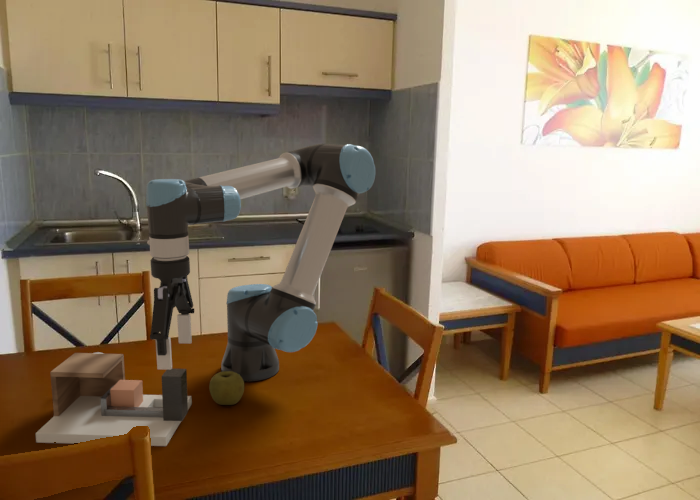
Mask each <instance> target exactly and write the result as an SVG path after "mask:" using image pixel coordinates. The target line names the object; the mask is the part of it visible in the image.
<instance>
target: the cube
mask: <svg viewBox="0 0 700 500" xmlns="http://www.w3.org/2000/svg"><path fill="white" fill-rule="evenodd" d="M143 391H144V389H143V380H139V379H134V380H133V379H130V380H129V379H125V380H119V381H118V382H117V383H116V384H115V385H114V386H113V387H112V388H111V390H110V393H111V406H120V407H139V406H140V404H141V403H142V402H143V395H144V392H143Z"/></svg>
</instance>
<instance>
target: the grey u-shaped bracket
mask: <svg viewBox="0 0 700 500" xmlns="http://www.w3.org/2000/svg"><path fill="white" fill-rule="evenodd" d="M187 371H188V370H187V368H172V369H171V370H167V369H165V371H164V372H163V374H162V375H161V395H162V399H163V407H120V406H111V393H110V390H111V388H112V387H113V386H112V387H111V388H110V389H109V390H108V391H107V392H106V393H105V394H104V395H103V396H102V397H101V398H100V400H101V415H102V416H123V417H159V418H163V421H181V422H183V421H184V419H185V417H186V416H187V414H188V413H189V409H188V400H187V396H188V377H187V376H188V372H187Z"/></svg>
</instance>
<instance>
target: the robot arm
mask: <svg viewBox="0 0 700 500" xmlns="http://www.w3.org/2000/svg"><path fill="white" fill-rule="evenodd" d="M375 178H376V165H375V162H374V158H373V156H372V154H371V152H370V151H369V150H368V149H367V148H365V147H363V146H362V145H361V146H360V145H355V144H351V143H347V144H333V143H331V144H330V143H317V144H312V145H307V146H305V147H301V148H297V149H293V150H291V151H287V152H282V153H281V154H280V155H279V157H278V158H274V159H269V160H265V161H261V162H258V163H252V164H248V165H245V166H241V167H237V168H233V169H232V168H231V169H228V170H223V171H221V172H215V173H212V174H208V175H203V176H199V177H197V178H196V177H195V178H191V179H186V180H183V179H181V178H179V179H178V178H160V179H159V178H158V179H151V180H150V181H148V183H146V193H145V198H146V199H145V201H146V202H145V206H146V211H147V224H148V225H147V226H148V236H149V237H148V238H149V239H148V240H147V242H146V244H147V245H148V246H149V254H150V256H151V259H150V274H151V276H152V277H153V278H154V279H158V280H159V281H160V285H159V287H154V289H153V305H152V306H153V307H152V308H153V309H152V319H151V328H150V335H149V339H150V340H155V352H156V353H155V354H156V365H157V366H156V368H157V370H171V369H173V359H172V341H171V340H172V339H171V338H172V337H171V336H169V334H170V329H171V323H172V316H173V312H174V308H176V310H177V312H178V314H177V315H176V318H177V320H176V322H177V335H178V336H177V337H178V338H177V339H178V344H193V343H192V342H193V341H192V322H191V321H192V318H191V314H195V308H193V307H194V301H193V298H192V295H191V294H192V293H191V289H190V285H189V280H188V276H189V275H190V273H191V264H190V257H189V256H188V255H190V244H189V243H190V241H189V239H190V238H189V226H194V225H202V224H211V223H219V222H220V223H224V222H226V221H231V220H235V219H237V217H239V215H240V212H241V209H242V204H241V203H242V200H243V199H247V198H251V197H254V196H258V195H262V194H265V193H268V192H272V191H275V190H279V189H282V188H288V189H298V188H301V187H312V188H313V191H314V193H315V196H314V198H313V201H312V204H311V207H310V209H309V211H308V214H307V215H306V219H305V222H304V223H303V226H302V228H301V231H300V233H299V236H298V237H297V241H296V243H295V245H294V248H293V250H292V253H291V256H290V258H289V261H288V263H287V266H286V268H285V271H284V274H283V276H282V279H281V281H280V282H279V283H277V284H275V285H273V286H271V285H270V284H268V283H267V284H266V283H265V284H264V283H263V284H262V283H252V284H244V285H239V286H235V287H232V288H230V289H229V290H228V292H227V295H226V297H227V298H226V313H227V316H226V317H227V319H226V321H227V324H226V325H227V344H226V347H225V352H224V355H223V357H222V360H221V364H220V365H221V369H220V370H221V372H223V371H232V372H235V373H237V374H239V375H240V376H241V377H242V379H243V381H244V382H256V381H257V382H258V381H262V380H266V379H270V378H271V377H274V376H275V375H276V374H277V373H278V372H279V370H280V360H279V358H278V354H277V351H276V350H278V351H279V350H280V351H283V352H286V353H295V352H299V351H300V350H301V349H303V348H305V347H306V346H307V345H309V344H310V343H311V341H312V340H313V338H314V337H315V335H316V333H317V329H318V325H319V324H318V323H319V322H318V321H317V320H318V318H317V317H318V316H317V314H316V313H315V311H314V310H315V308H316V306H317V302H316V300H315V296H314V294H315V291H316V289H317V285H319V281H320V278H321V276H322V273H323V270H324V268H325V265H326V263H327V260H328V258H329V255H330V252H331V250H332V248H333V245H334V243H335V240H336V238H337V235H338V232H339V229H340V227H341V224H342V221H343V219H344V218H345V214H346V212H347V209H348V208H349V207H351V206H353V205H355V204H356V203H357V200H358V199H359V198H358V197H359V195H360V194H363V193H367V191H369V190H370V189H371V188H372V187H373V185H374V182H375Z"/></svg>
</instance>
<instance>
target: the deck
mask: <svg viewBox="0 0 700 500" xmlns="http://www.w3.org/2000/svg"><path fill="white" fill-rule="evenodd" d="M101 397H102V396H80V397H79V398H78V399H77V400H75V401H74V402H73V403H72V404H71V405H70V406H69V407H68V408H67V409H66V410H65V411H64V412H63V413H62V414H61V415H60V416H54V415H53V417H51V418H50V420H48V421H47V422H46V423H45V424H44V425H43V426H41V428H40V429H38V430H37V432H35V443H37V444H38V443H43V444H44V443H45V444H72V445H73V444H74V443H80V442H86V441H90V440H95V439H100V438H106V437H113V436H119V435H124V434H127V433H128V432H129V431H130V430H131V429H132V428H133V427H136V426H148V427H149V429H150V438H151V446H150V447H153V446H154V447H167V446H168V444H169V443H170V441H171V438H172V437H173V435H174V434H175V433H176V430H177V429H178V427H179V426H180V424H181V422H182V421H163V418H159V417H123V416H102V415H101V400H100V398H101ZM192 399H193V398H192V395H187V400H188V410H189V409H190V408H191V407H192V404H193V401H192ZM139 407H156V408H163V399H162V394H143V402H142V403H141V404H140V406H139ZM54 442H56V443H54Z"/></svg>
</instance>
